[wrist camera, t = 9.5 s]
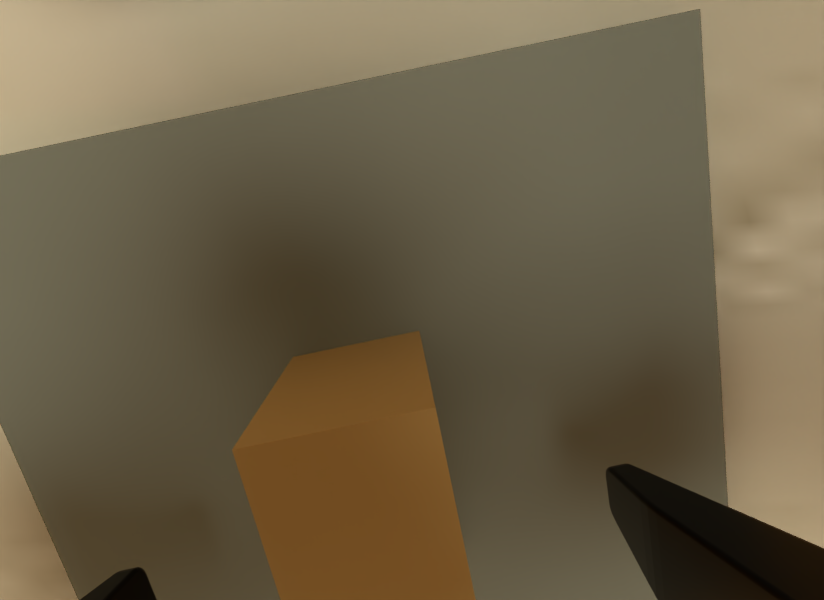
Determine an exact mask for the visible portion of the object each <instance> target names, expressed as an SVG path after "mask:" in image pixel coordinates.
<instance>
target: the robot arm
mask: <svg viewBox="0 0 824 600" xmlns="http://www.w3.org/2000/svg"><path fill="white" fill-rule="evenodd" d="M606 482H607V490H608V498H609V505H610V509H611V512H612V515H613V517H614V519H615V521H616V523H617V525H618V527H619V529H620V531H621V533H622V535H623V536H624V538H625V540H626V542H627V544H628V546H629V548H630V550H631V552H632V553H633V555H634V557H635V559H636V561H637V563H638V565H639V567H640V569H641V570H642V572H643V574H644V576H645V578H646V580H647V582H648V584H649V585H650V587H651V589H652V591H653V593H654V594H655V596H656V598H657V600H824V548H821V547H819V546H817V545H815V544H812V543H810V542H808V541H805V540H803V539H801V538H798V537H796V536H794V535H792V534H789V533H787V532H785V531H782V530H780V529H778V528H776V527H773V526H771V525H769V524H766V523H764V522H762V521H759V520H757V519H755V518H753V517H750V516H748V515H746V514H743V513H741V512H739V511H737V510H734V509H732V508H730V507H727V506H725V505H723V504H720V503H718V502H716V501H714V500H711V499H709V498H707V497H704V496H702V495H700V494H698V493H695V492H693V491H691V490H688V489H686V488H684V487H681V486H679V485H677V484H675V483H672V482H670V481H668V480H665V479H663V478H661V477H659V476H656V475H654V474H652V473H649V472H647V471H645V470H642V469H640V468H638V467H636V466H633V465H631V464H628V463H625V464H620V465H615V466H610V467H608V468H607V469H606ZM80 600H157V599H156V596H155V594H154V591H153V589H152V586H151V584H150V581H149V579H148V576H147V574H146V572H145V570H144V569H142V568H140V567H135V568H130V569H126V570H121V571H118V572H116V573H115V574H113V575H112V576H111V577H109V578H108V579H107V580H105V581H104V582H103V583H101V584H100V585H99V586H97V587H96V588H95V589H93V590H92V591H91V592H89V593H88V594H87V595H85V596H84V597H83V598H81V599H80Z"/></svg>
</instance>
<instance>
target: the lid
mask: <svg viewBox="0 0 824 600" xmlns="http://www.w3.org/2000/svg"><path fill="white" fill-rule="evenodd" d="M0 424H1V426H2V428H3V431H4V433H5V435H6V437H7V440H8V442H9V444H10V446H11V449H12V451H13V453H14V455H15V458H16V460H17V462H18V464H19V467H20V469H21V471H22V473H23V476H24V478H25V480H26V482H27V485H28V487H29V489H30V491H31V494H32V496H33V498H34V500H35V503H36V505H37V507H38V509H39V512H40V514H41V516H42V518H43V521H44V523H45V525H46V527H47V530H48V532H49V534H50V536H51V539H52V541H53V543H54V545H55V548H56V550H57V552H58V554H59V557H60V559H61V561H62V563H63V566H64V568H65V570H66V572H67V575H68V577H69V579H70V581H71V584H72V586H73V588H74V590H75V593H76V595H77V597H78V599H79V600H80V599H81V598H83V597H84V596H85V595H87V594H88V593H89V592H91V591H92V590H93V589H95V588H96V587H97V586H99V585H100V584H101V583H103V582H104V581H105V580H107V579H108V578H109V577H111V576H112V575H113V574H115V573H116V572H118V571H121V570H126V569H130V568H135V567H140V568H142V569H144V570H145V572H146V574H147V576H148V579H149V581H150V584H151V586H152V589H153V591H154V594H155V596H156V599H157V600H657V598H656V596H655V594H654V593H653V591H652V589H651V587H650V585H649V584H648V582H647V580H646V578H645V576H644V574H643V572H642V570H641V569H640V567H639V565H638V563H637V561H636V559H635V557H634V555H633V553H632V552H631V550H630V548H629V546H628V544H627V542H626V540H625V538H624V536H623V535H622V533H621V531H620V529H619V527H618V525H617V523H616V521H615V519H614V517H613V515H612V512H611V509H610V505H609V498H608V490H607V482H606V469H607V468H608V467H610V466H615V465H620V464H625V463H628V464H631V465H633V466H636V467H638V468H640V469H642V470H645V471H647V472H649V473H652V474H654V475H656V476H659V477H661V478H663V479H665V480H668V481H670V482H672V483H675V484H677V485H679V486H681V487H684V488H686V489H688V490H691V491H693V492H695V493H698V494H700V495H702V496H704V497H707V498H709V499H711V500H714V501H716V502H718V503H720V504H723V505H725V506H727V507H728V498H727V480H726V462H725V444H724V427H723V409H722V391H721V373H720V355H719V338H718V320H717V302H716V284H715V266H714V248H713V231H712V213H711V195H710V177H709V159H708V142H707V124H706V106H705V88H704V70H703V53H702V35H701V17H700V9H698V10H693V11H688V12H683V13H679V14H674V15H669V16H664V17H660V18H655V19H650V20H645V21H640V22H636V23H631V24H626V25H621V26H617V27H612V28H607V29H602V30H598V31H593V32H588V33H583V34H578V35H574V36H569V37H564V38H559V39H555V40H550V41H545V42H540V43H536V44H531V45H526V46H521V47H516V48H512V49H507V50H502V51H497V52H493V53H488V54H483V55H478V56H474V57H469V58H464V59H459V60H454V61H450V62H445V63H440V64H435V65H431V66H426V67H421V68H416V69H412V70H407V71H402V72H397V73H392V74H388V75H383V76H378V77H373V78H369V79H364V80H359V81H354V82H350V83H345V84H340V85H335V86H330V87H326V88H321V89H316V90H311V91H307V92H302V93H297V94H292V95H288V96H283V97H278V98H273V99H268V100H264V101H259V102H254V103H249V104H245V105H240V106H235V107H230V108H226V109H221V110H216V111H211V112H206V113H202V114H197V115H192V116H187V117H183V118H178V119H173V120H168V121H164V122H159V123H154V124H149V125H144V126H140V127H135V128H130V129H125V130H121V131H116V132H111V133H106V134H102V135H97V136H92V137H87V138H82V139H78V140H73V141H68V142H63V143H59V144H54V145H49V146H44V147H40V148H35V149H30V150H25V151H20V152H16V153H11V154H6V155H1V156H0Z"/></svg>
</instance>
